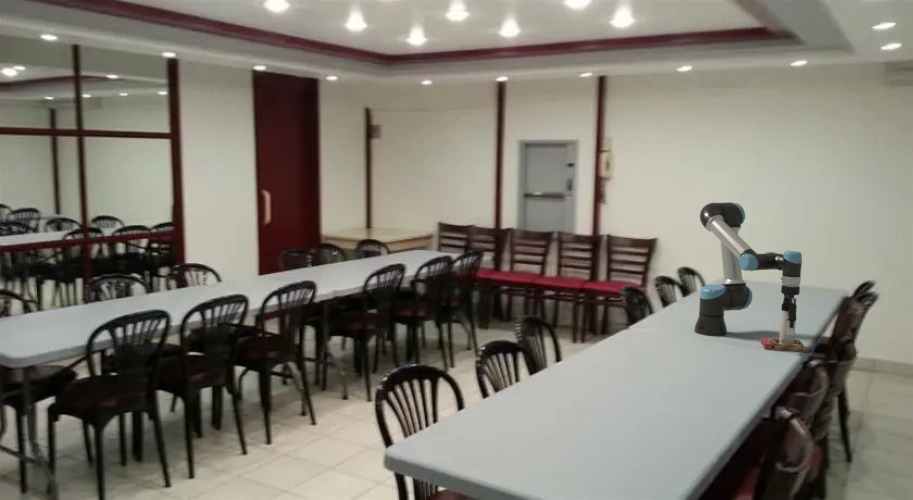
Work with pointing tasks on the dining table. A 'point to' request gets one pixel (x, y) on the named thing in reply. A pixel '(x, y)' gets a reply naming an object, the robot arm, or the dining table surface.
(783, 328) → the travel mug
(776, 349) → the box
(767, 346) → the door edge strip
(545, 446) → the dining table surface
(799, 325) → the dining table surface
